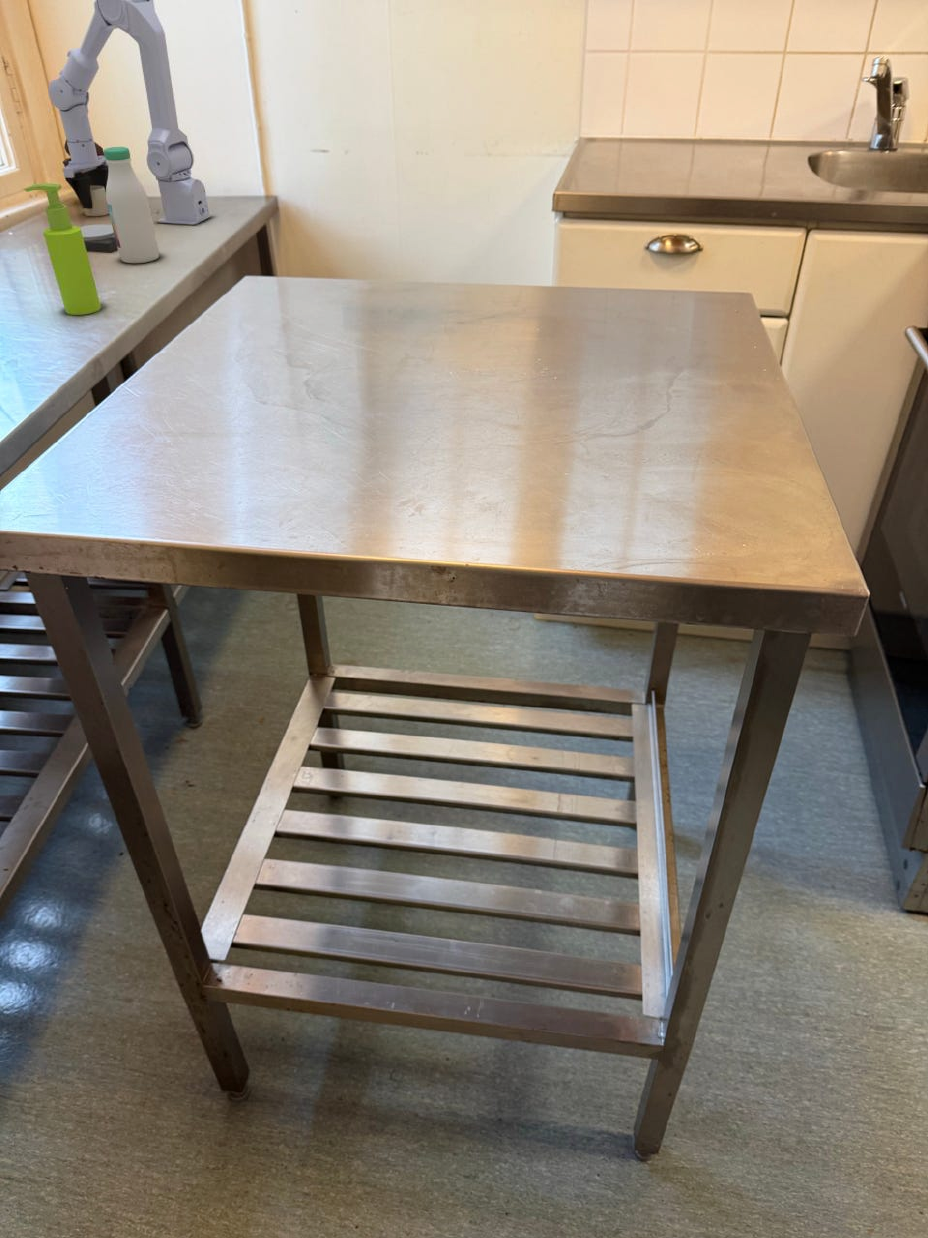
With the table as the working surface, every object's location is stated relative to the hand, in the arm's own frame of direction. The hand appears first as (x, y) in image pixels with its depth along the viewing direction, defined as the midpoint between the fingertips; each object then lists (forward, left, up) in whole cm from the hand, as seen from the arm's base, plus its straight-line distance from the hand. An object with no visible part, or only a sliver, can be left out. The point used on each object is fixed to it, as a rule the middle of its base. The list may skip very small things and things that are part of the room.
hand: (95, 204), depth 210 cm
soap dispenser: (-38, +61, -2) cm, 72 cm away
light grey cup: (0, 0, -2) cm, 2 cm away
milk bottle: (-31, +31, -2) cm, 44 cm away
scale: (-16, +23, -2) cm, 28 cm away
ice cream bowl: (+7, -10, -2) cm, 12 cm away
